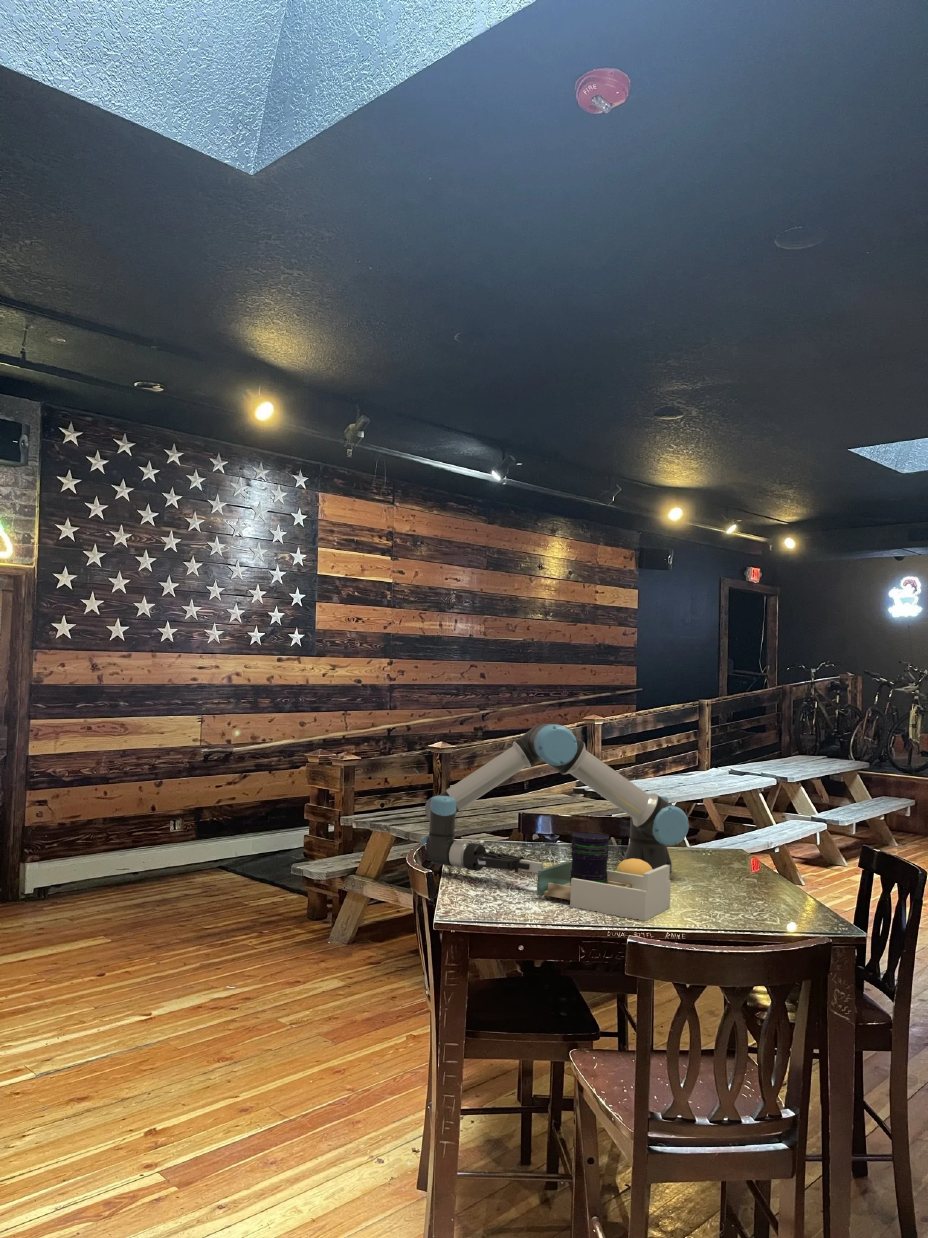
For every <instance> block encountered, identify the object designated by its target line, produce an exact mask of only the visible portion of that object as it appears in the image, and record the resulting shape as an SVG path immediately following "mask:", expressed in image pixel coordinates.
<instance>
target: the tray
mask: <svg viewBox="0 0 928 1238" xmlns="http://www.w3.org/2000/svg"><path fill="white" fill-rule="evenodd" d="M571 870H572V861H565V862H564V861H563V862H562V863H558V864H557V863H556V864H555V865H552V866H547V867H545V868H544V867H543V869H541V870H538V873H537V879H536V880H537V883H536V884H537V885H536V887H537V888H536V896H539V897H542V896H548V897H553V898H556V899H557V898H559V899H564V900H569V901H570V896H571V886H570V883H571V882H570V877H571ZM608 884H611V885H616V886H622V887H628V888H632V885H630V884H624V883H618V882H613V881H608Z"/></svg>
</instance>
